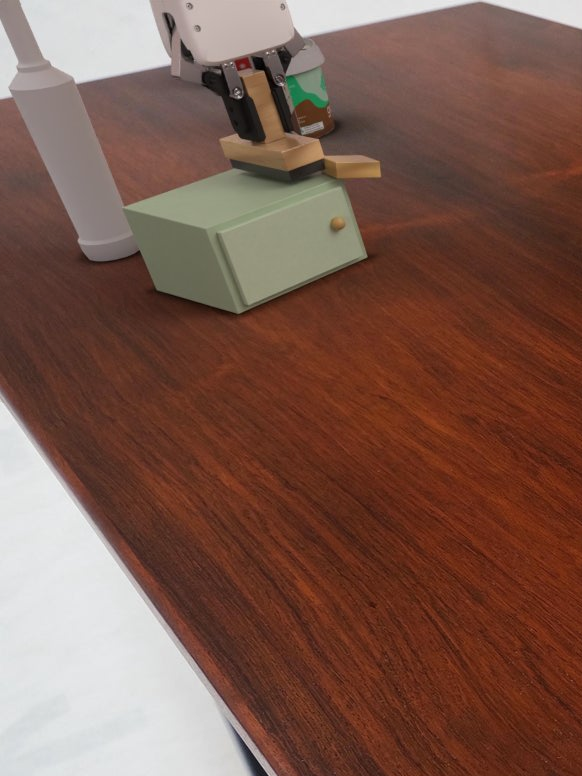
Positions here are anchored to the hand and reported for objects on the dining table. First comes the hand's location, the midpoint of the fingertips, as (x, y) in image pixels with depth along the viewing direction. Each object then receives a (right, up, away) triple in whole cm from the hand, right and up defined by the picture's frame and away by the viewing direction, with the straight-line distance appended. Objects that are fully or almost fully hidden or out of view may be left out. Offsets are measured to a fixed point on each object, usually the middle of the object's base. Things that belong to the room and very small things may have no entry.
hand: (266, 133), depth 118 cm
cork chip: (+7, -3, +2) cm, 8 cm away
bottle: (-20, -9, +9) cm, 24 cm away
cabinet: (-2, -12, +3) cm, 13 cm away
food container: (-16, +13, +41) cm, 47 cm away
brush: (0, -3, +2) cm, 3 cm away
